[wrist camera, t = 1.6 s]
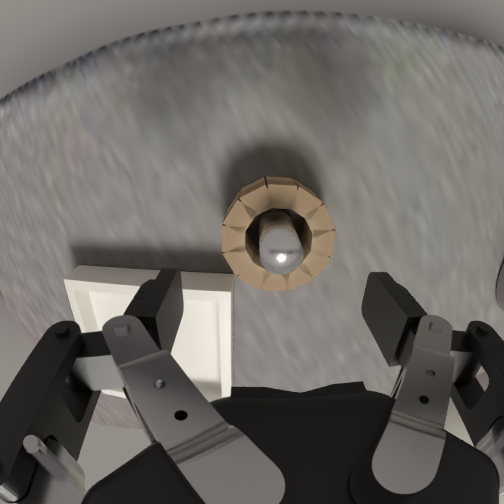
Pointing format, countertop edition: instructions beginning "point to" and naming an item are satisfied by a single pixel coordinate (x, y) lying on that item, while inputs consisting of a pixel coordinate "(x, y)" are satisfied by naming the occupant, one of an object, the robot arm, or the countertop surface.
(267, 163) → the countertop surface
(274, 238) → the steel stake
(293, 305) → the countertop surface
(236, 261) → the oak ring
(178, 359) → the white tray
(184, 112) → the countertop surface
